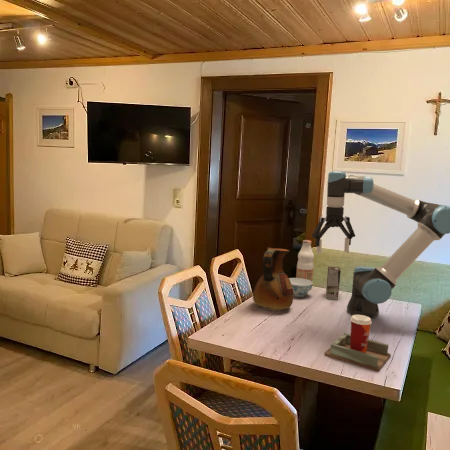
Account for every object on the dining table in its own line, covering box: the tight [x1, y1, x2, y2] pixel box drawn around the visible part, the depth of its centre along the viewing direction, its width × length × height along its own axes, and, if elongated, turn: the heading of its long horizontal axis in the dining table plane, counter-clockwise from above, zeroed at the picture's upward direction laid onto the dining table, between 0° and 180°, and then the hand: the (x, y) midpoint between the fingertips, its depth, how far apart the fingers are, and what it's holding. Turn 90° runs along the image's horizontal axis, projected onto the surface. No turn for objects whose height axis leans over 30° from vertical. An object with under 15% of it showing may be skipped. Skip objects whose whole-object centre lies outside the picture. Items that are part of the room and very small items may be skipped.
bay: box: [323, 332, 391, 372], centre depth 164 cm, size 16×20×4 cm
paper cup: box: [350, 315, 373, 353], centre depth 164 cm, size 8×8×14 cm
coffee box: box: [325, 266, 342, 301], centre depth 236 cm, size 9×6×16 cm
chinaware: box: [288, 277, 314, 298], centre depth 238 cm, size 15×15×8 cm
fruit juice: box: [295, 239, 315, 290], centre depth 250 cm, size 9×9×28 cm
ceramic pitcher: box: [252, 247, 295, 311], centre depth 213 cm, size 20×20×30 cm
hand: (332, 252), depth 197 cm, fingers open, 13 cm apart
